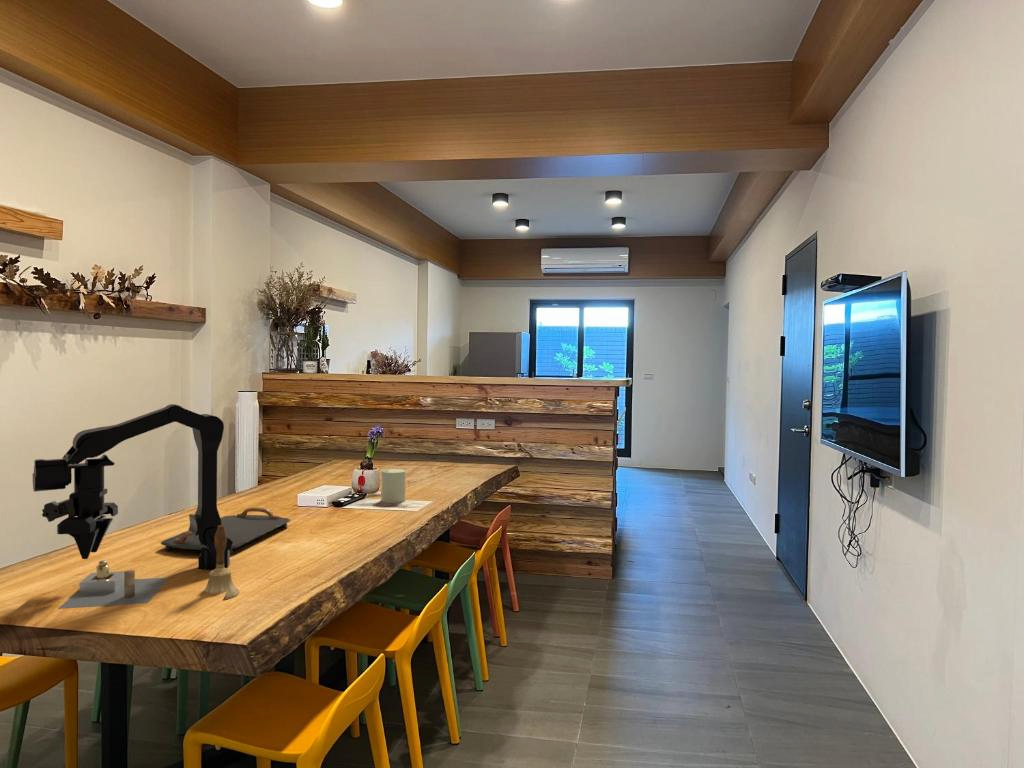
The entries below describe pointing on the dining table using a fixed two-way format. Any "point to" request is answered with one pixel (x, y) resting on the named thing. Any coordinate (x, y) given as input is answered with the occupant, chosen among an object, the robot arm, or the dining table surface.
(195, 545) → the serving board
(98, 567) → the brass knobbed cylinder
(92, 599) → the board
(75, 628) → the dining table surface
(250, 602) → the dining table surface
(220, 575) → the hand bell
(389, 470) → the can
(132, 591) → the stand rod
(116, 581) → the square hole block
